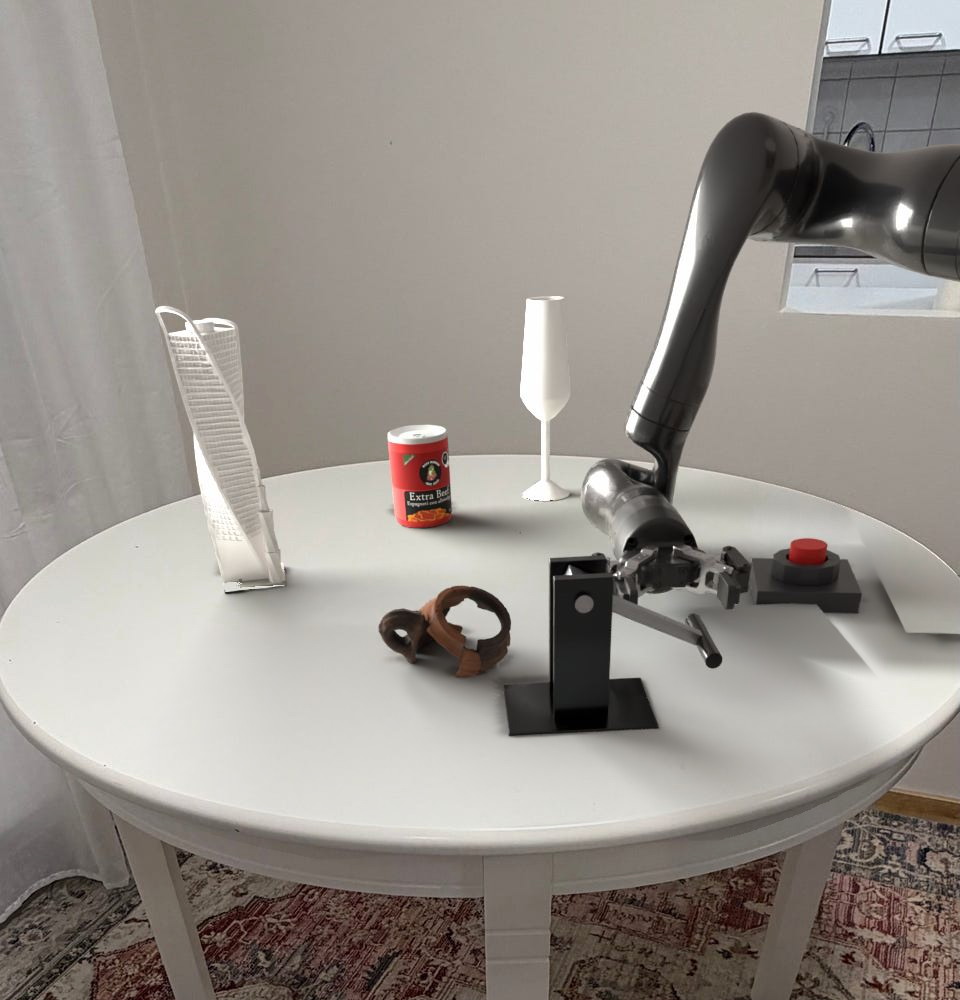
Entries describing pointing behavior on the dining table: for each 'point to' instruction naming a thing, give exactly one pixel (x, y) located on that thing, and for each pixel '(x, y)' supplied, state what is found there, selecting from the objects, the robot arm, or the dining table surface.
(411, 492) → the canned food
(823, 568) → the housing
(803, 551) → the button
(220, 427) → the skyscraper
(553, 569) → the switch bracket
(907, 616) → the dining table surface
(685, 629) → the switch lever
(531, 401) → the champagne flute
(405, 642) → the brown curved ring piece
